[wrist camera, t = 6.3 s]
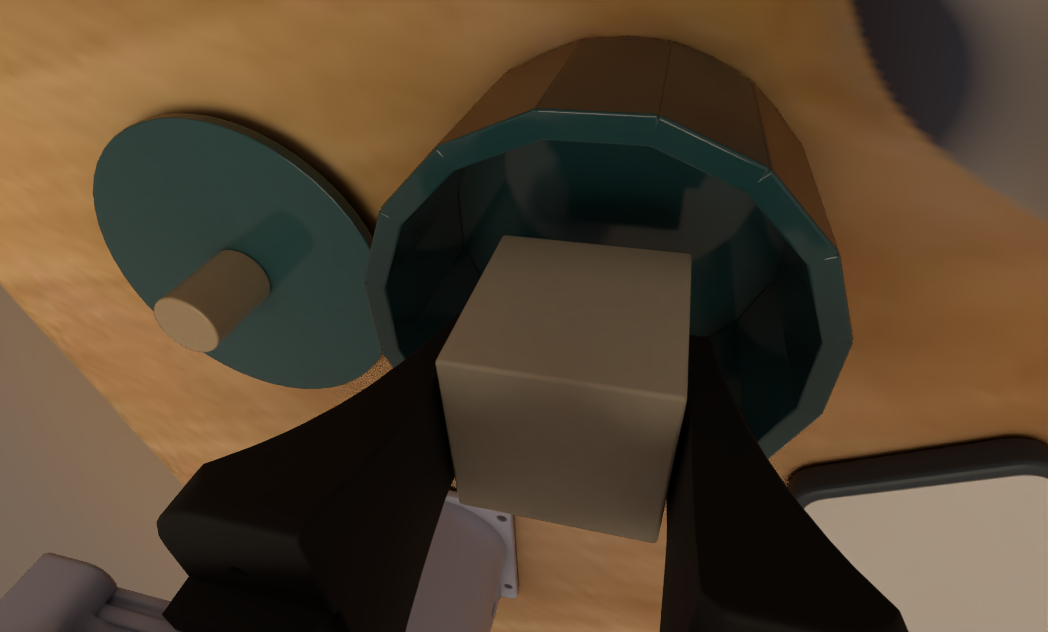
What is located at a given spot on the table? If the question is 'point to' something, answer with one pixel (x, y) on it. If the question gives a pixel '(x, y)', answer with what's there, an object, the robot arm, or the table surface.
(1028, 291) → the table surface
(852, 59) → the table surface
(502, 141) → the canister
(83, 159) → the table surface
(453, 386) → the block
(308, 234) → the lid
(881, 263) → the table surface
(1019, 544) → the phone case
